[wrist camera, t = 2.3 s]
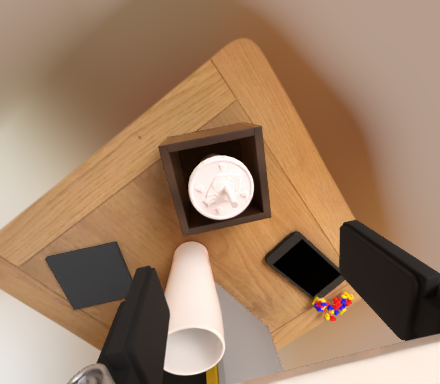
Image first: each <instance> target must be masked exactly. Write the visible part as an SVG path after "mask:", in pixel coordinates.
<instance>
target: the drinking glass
mask: <svg viewBox="0 0 440 384" xmlns="http://www.w3.org/2000/svg"><path fill="white" fill-rule="evenodd" d="M164 295H165V298H166V301H167V304H168V307H169V310H170V321H169V329H168V337H167V346H166V354H165V362H164V370H165V371H167V372H169V373H172V374H176V375H194V374H199V373H202V372H204V371H207V370H209V369H210V368H212V367H214V366H215V365H216V364H217V363H218V362H219V361H220V360H221V358H222V357H223V355H224V352H225V337H224V327H223V319H222V313H221V307H220V303H219V299H218V294H217V290H216V286H215V283H214V278H213V274H212V270H211V266H210V262H209V254H208V251H207V249H206V248H205V246H204V245H202V244H201V243H198V242H195V241H189V242H185V243H183V244H181V245H180V246H179V247H178V248H177V249H176V250H175V253H174V257H173V263H172V267H171V271H170V274H169V278H168V282H167V285H166V289H165V293H164Z"/></svg>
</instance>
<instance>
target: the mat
mask: <svg viewBox="0 0 440 384" xmlns="http://www.w3.org/2000/svg"><path fill="white" fill-rule="evenodd" d="M45 260H46V262H47V263H48V265H49V267H50V269H51V270H52V272H53V274H54V276H55V277H56V279H57V281H58V283H59V284H60V286H61V288H62V289H63V291H64V293H65V295H66V296H67V298H68V300H69V302H70V303H71V305H72V307H73V309H74V310H75V309H80V308H84V307H89V306H93V305H97V304H102V303H106V302H110V301H115V300H119V299H123V298H126V296H127V294H128V291H129V288H130V286H131V283H132V278H131V275H130V273H129V271H128V268H127V266H126V263H125V261H124V259H123V256H122V254H121V251H120V249H119V247H118V244H117V242H112V243H107V244H103V245H98V246H93V247H89V248H84V249H80V250H75V251H70V252H66V253H61V254H57V255H52V256H48V257H46V258H45Z"/></svg>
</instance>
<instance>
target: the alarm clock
mask: <svg viewBox="0 0 440 384" xmlns="http://www.w3.org/2000/svg"><path fill="white" fill-rule="evenodd" d="M214 283H215V286H216V290H217V294H218V299H219V303H220V307H221V313H222V319H223V327H224V337H225V352H224V355H223V357H222V358H221V360H220V361H219V362H218V363H217V364H216V365H215V366H214V367H212V368H210V369H209V370H207V371H204V372H202V373H199V374H194V375H176V374H172V373H169V372H167V371H165V370H163V379H162V384H236V383H239V382H243V381H247V380H251V379H255V378H259V377H263V376H267V375H271V374H275V373H279V372H283V368H282V365H281V362H280V359H279V356H278V353H277V351H276V348H275V345H274V342H273V339H272V336H271V334H270V331H269V328H268V326H266V325H265V324H264V323H263V322H262V321H261V320H259V319H258V318H257V317H256V316H255V315H254V314H253V313H251V312H250V311H249V310H248V309H247V308H246V307H244V306H243V305H242V304H241V303H240V302H239V301H238V300H236V299H235V298H234V297H233V296H232V295H231V294H229V293H228V292H227V291H226V290H225V289H224V288H223V287H221V286H220V285H219V284H218V283H216V282H214Z"/></svg>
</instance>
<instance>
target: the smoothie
mask: <svg viewBox="0 0 440 384" xmlns="http://www.w3.org/2000/svg"><path fill="white" fill-rule="evenodd" d="M188 189H189V196H190V200H191V202H192V204H193V206H194V207H195V209H196V210H197V211H198V212H200V213H201V214H202V215H204V216H206V217H208V218H211V219H217V220H223V219H229V218H232V217H234V216H236V215H238V214H240V213H241V212H242V211H243V210H244V209H245V208H246V207H247V206H248V205H249V203H250V201H251V199H252V196H253V192H254V183H253V179H252V176H251V174H250V172H249V171H248V169H247V167H246V166H245V165H244V164H243V163H242V162H240V161H239V160H237V159H235V158H233V157H229V156H221V155H218V154H208V155H206V156H205V157H204V158H203V159H202V160H201V162H200V164H199V165H198V166H197V167H196V168H195V169H194V170H193V172H192V174H191V176H190V179H189V184H188Z"/></svg>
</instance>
